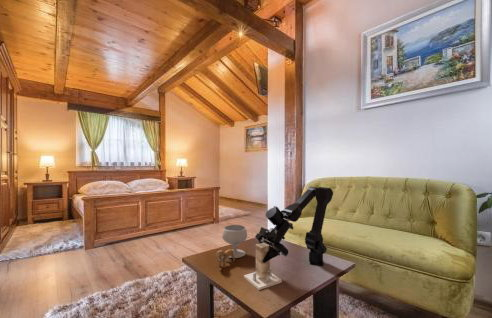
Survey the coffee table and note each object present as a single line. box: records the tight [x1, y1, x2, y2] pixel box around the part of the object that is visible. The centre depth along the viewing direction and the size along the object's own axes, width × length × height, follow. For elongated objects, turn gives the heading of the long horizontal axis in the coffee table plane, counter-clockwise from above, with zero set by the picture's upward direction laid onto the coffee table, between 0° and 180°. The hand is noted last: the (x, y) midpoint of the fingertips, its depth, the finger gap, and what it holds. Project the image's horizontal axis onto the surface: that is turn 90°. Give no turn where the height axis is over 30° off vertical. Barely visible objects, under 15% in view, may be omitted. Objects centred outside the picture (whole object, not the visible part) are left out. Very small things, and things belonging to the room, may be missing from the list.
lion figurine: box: [215, 248, 236, 269], centre depth 119 cm, size 15×5×9 cm, turn 154°
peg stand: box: [243, 267, 283, 291], centre depth 103 cm, size 12×12×4 cm
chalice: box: [221, 224, 248, 259], centre depth 132 cm, size 14×14×15 cm
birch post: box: [255, 243, 271, 278], centre depth 104 cm, size 4×4×13 cm
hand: (260, 260), depth 103 cm, fingers closed on birch post, 4 cm apart
